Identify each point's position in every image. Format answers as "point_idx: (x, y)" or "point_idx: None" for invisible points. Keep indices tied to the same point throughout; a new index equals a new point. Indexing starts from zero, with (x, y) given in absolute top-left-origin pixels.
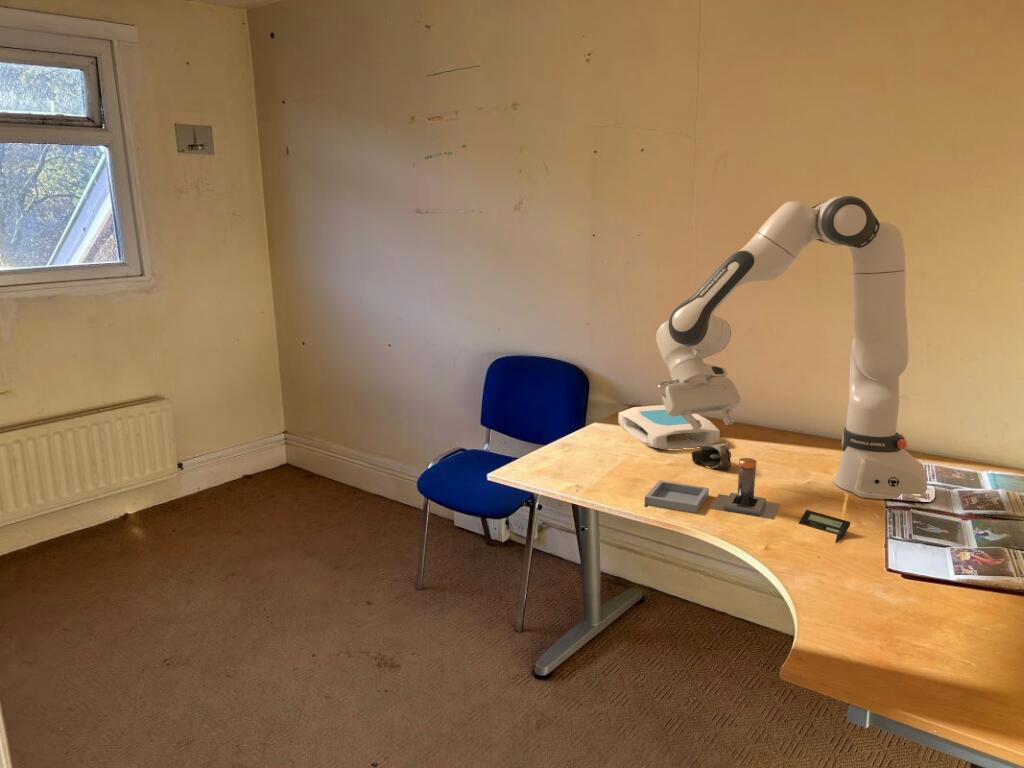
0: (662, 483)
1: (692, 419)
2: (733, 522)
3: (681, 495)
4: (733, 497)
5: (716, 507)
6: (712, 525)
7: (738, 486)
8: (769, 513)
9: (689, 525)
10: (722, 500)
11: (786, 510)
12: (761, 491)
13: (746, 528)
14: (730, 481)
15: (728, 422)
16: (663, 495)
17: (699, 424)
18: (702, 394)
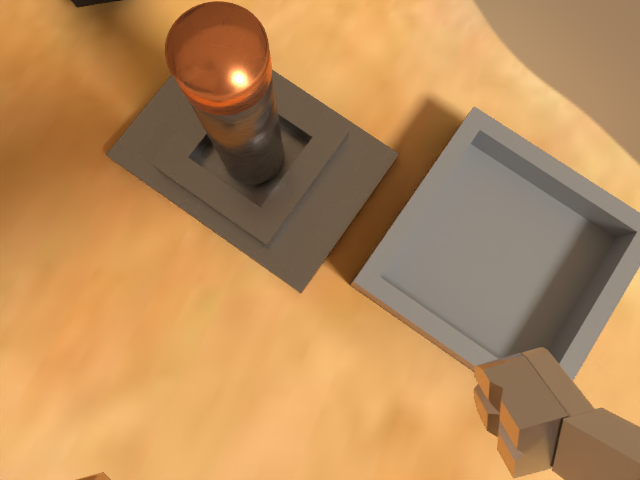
0: None
1: (620, 425)
2: (350, 52)
3: (463, 303)
4: (279, 191)
5: (367, 160)
6: (432, 42)
7: (278, 122)
8: None
9: (510, 54)
10: (315, 221)
11: (108, 118)
12: (94, 320)
13: (328, 3)
14: (167, 467)
15: (104, 478)
16: (538, 315)
17: (511, 369)
18: None
